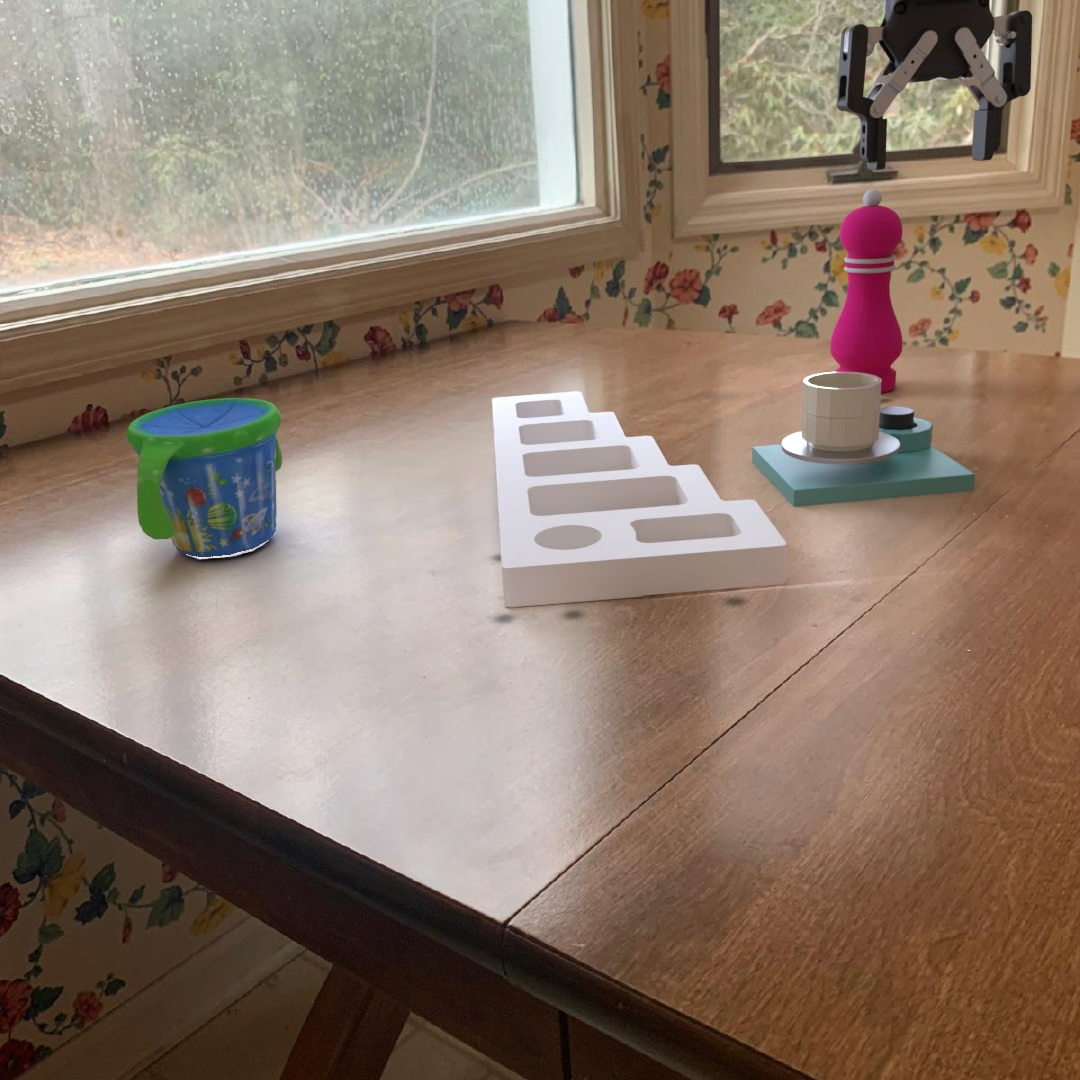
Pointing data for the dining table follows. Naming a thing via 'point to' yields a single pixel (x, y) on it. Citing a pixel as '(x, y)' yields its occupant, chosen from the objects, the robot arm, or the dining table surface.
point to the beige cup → (841, 411)
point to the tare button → (896, 418)
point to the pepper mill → (869, 293)
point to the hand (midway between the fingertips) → (929, 164)
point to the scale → (867, 472)
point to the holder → (613, 512)
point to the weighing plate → (877, 452)
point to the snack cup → (208, 474)
